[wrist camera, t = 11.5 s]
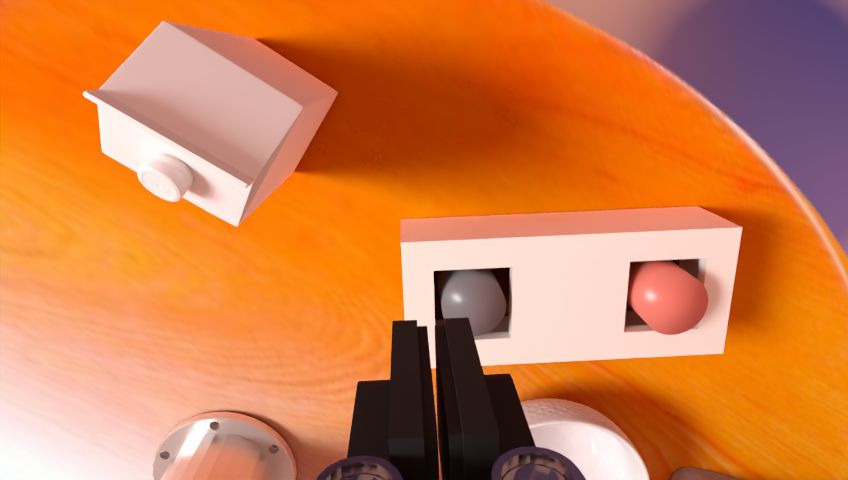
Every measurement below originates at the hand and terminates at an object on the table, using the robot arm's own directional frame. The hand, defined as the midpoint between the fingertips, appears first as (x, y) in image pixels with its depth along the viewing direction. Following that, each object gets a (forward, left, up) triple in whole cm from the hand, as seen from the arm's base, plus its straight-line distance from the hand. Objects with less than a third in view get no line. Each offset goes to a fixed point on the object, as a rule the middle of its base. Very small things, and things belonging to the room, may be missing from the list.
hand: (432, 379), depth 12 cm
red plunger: (-10, -18, -29) cm, 36 cm away
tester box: (-10, -11, -31) cm, 34 cm away
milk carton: (+4, +10, -31) cm, 33 cm away
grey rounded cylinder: (-10, -4, -30) cm, 32 cm away
